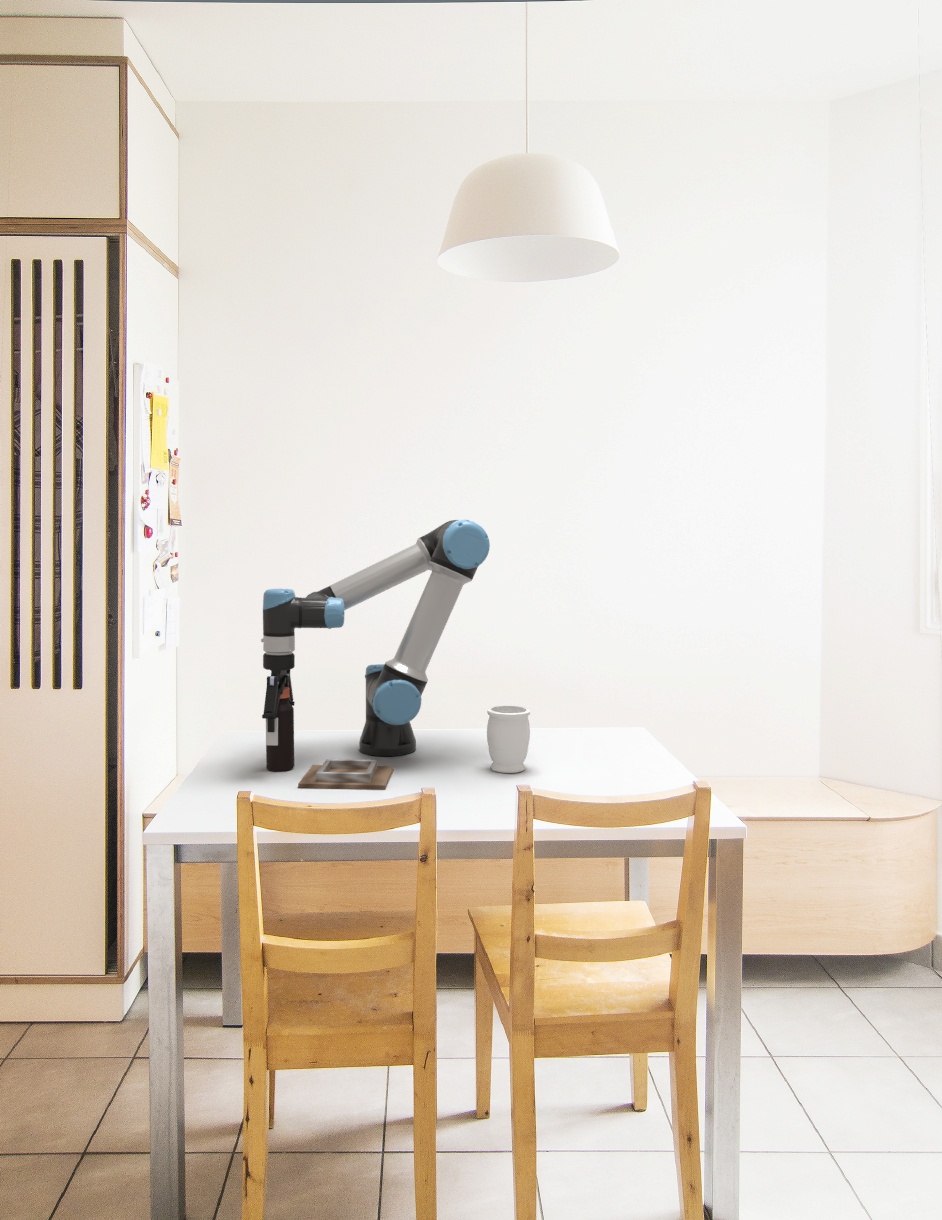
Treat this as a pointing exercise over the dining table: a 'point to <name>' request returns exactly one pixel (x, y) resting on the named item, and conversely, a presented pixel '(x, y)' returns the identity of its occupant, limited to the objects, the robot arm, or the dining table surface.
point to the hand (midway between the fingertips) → (278, 738)
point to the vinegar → (282, 737)
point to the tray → (347, 775)
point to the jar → (508, 737)
